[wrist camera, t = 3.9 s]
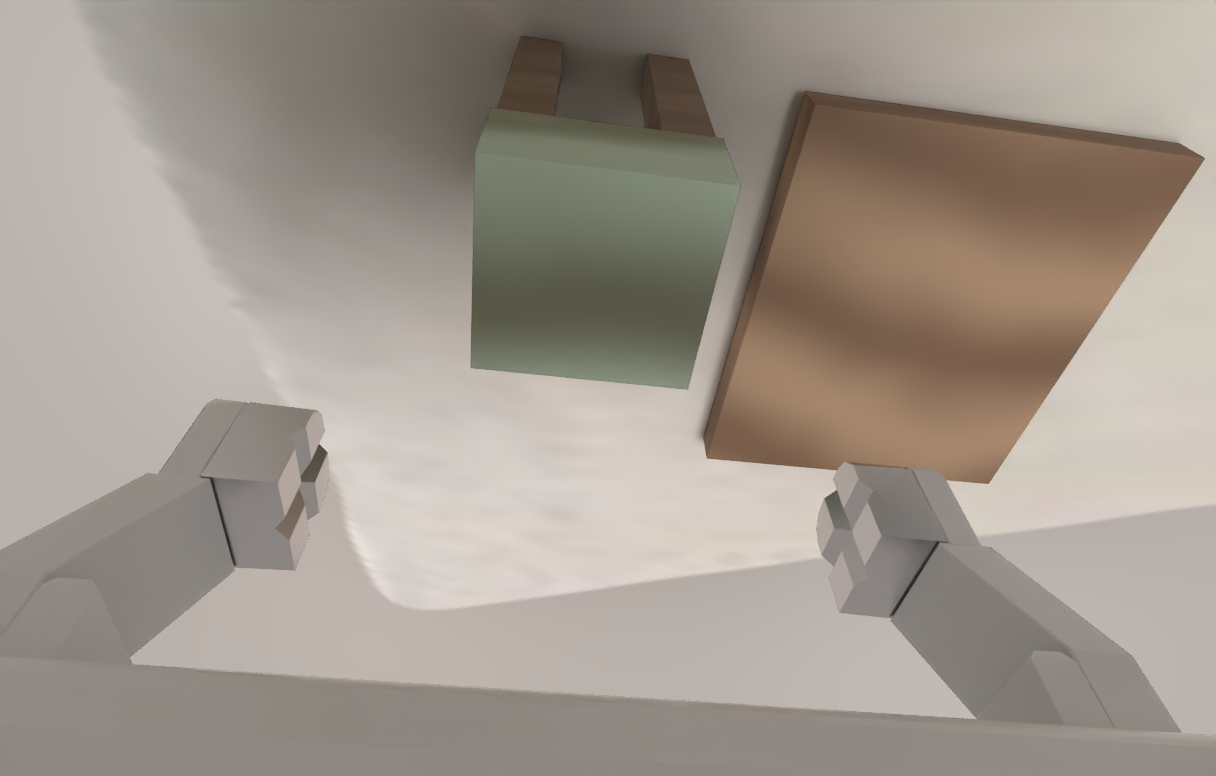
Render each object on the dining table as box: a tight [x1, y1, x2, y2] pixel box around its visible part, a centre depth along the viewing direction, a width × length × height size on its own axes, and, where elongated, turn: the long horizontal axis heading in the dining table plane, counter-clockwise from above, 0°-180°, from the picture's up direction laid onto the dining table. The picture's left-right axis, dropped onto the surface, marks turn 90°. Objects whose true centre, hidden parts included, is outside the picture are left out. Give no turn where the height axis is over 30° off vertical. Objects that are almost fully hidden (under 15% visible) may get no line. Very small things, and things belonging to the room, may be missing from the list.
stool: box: [471, 36, 741, 390], centre depth 19 cm, size 5×5×9 cm
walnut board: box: [704, 91, 1205, 484], centre depth 26 cm, size 14×12×1 cm
